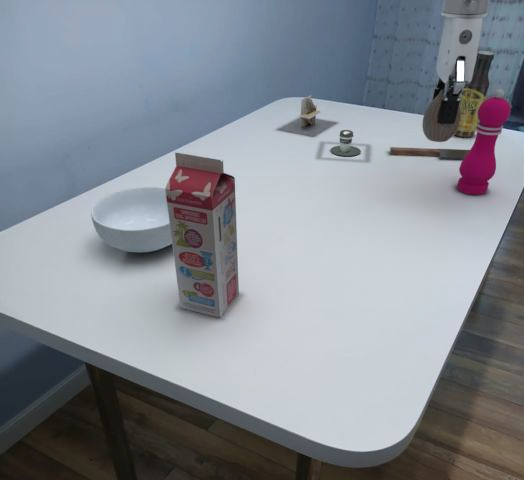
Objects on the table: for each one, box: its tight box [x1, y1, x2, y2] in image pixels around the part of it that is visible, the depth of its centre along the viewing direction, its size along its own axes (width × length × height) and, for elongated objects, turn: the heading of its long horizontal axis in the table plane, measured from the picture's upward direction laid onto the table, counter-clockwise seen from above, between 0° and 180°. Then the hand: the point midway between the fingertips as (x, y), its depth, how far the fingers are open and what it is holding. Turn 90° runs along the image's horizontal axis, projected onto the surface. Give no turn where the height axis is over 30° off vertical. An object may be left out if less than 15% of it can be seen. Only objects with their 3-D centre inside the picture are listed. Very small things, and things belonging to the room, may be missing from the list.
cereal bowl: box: [90, 186, 172, 254], centre depth 88 cm, size 17×17×7 cm
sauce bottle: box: [453, 50, 496, 138], centre depth 130 cm, size 6×6×20 cm
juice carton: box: [164, 151, 240, 319], centre depth 69 cm, size 7×7×22 cm
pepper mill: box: [456, 88, 512, 196], centre depth 102 cm, size 7×7×20 cm
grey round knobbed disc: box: [329, 129, 362, 157], centre depth 125 cm, size 12×12×5 cm
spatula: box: [389, 146, 471, 161], centre depth 124 cm, size 21×6×1 cm, turn 84°
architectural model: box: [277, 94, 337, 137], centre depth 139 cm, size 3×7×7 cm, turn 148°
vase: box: [422, 88, 461, 143], centre depth 95 cm, size 7×7×9 cm
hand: (442, 116), depth 95 cm, fingers closed on vase, 6 cm apart
